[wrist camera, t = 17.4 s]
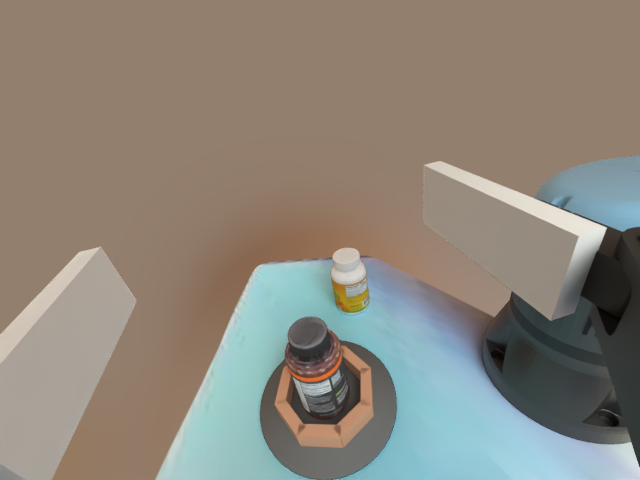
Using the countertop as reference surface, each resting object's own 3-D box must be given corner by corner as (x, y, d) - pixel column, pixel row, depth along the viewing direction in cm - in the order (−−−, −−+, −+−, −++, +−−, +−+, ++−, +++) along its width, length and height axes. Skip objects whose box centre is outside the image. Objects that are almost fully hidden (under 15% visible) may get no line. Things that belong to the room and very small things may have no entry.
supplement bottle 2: (333, 297, 49) (324, 249, 44) (363, 289, 50) (358, 241, 45) (341, 320, 45) (331, 269, 40) (374, 311, 45) (369, 260, 40)
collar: (331, 342, 41) (329, 332, 40) (392, 396, 33) (392, 385, 32) (265, 394, 36) (261, 385, 35) (319, 473, 28) (315, 463, 27)
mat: (333, 324, 44) (333, 322, 44) (426, 399, 32) (426, 396, 32) (239, 396, 37) (238, 394, 36) (315, 527, 25) (314, 525, 25)
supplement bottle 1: (309, 370, 38) (289, 306, 32) (354, 376, 36) (342, 309, 30) (294, 417, 33) (268, 352, 27) (346, 427, 31) (329, 359, 25)
